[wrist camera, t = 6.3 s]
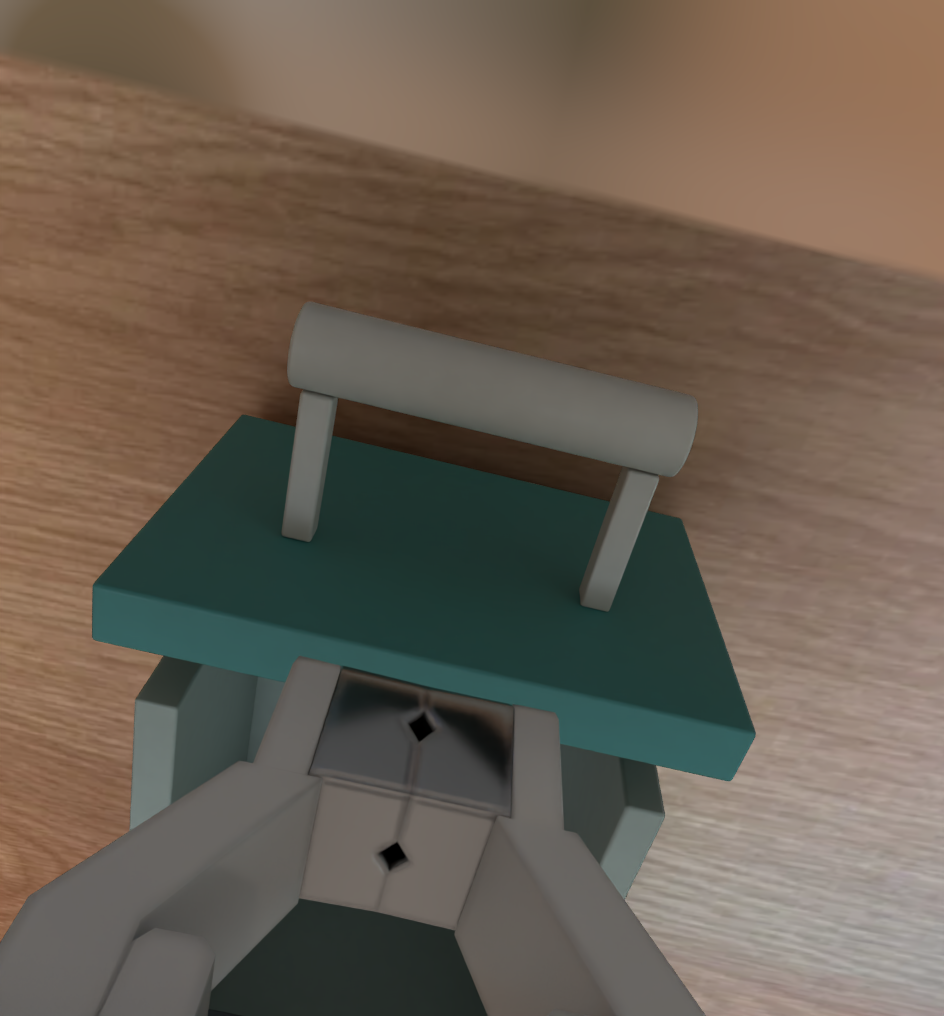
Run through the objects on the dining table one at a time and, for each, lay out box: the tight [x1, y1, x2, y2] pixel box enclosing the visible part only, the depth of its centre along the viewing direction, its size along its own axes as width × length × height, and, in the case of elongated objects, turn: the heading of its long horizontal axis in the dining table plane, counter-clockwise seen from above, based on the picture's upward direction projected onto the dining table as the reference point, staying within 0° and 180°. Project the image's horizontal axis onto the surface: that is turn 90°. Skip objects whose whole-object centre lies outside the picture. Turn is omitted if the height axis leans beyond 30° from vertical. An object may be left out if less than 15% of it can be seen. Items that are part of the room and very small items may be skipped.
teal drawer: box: [92, 302, 756, 1016], centre depth 19 cm, size 19×11×8 cm, turn 167°
